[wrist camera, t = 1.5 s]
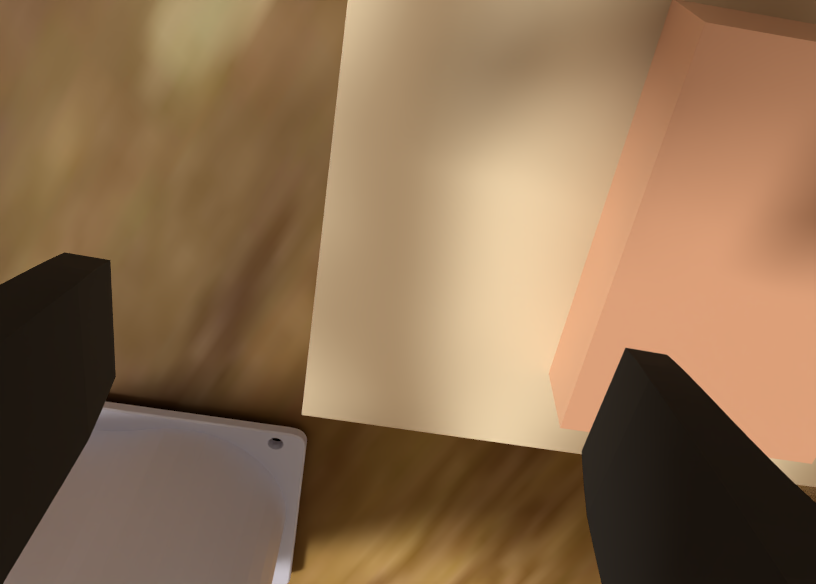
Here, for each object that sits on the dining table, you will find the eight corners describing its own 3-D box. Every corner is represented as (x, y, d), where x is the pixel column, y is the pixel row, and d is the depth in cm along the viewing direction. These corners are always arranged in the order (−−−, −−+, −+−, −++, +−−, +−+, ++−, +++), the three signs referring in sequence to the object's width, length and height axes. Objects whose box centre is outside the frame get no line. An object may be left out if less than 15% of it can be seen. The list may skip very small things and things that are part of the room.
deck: (321, 328, 23) (301, 414, 20) (386, -212, 16) (372, -224, 12) (816, 401, 24) (878, 496, 21) (1095, -76, 17) (1266, -51, 13)
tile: (548, 373, 19) (560, 428, 17) (672, -2, 14) (705, 22, 12) (778, 407, 19) (812, 463, 17) (974, 53, 14) (1047, 83, 13)
